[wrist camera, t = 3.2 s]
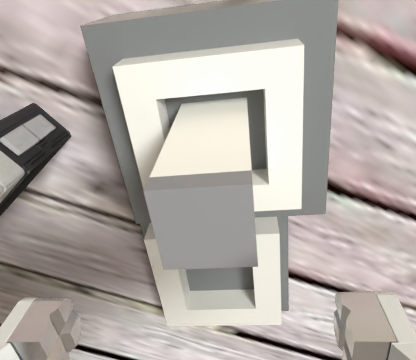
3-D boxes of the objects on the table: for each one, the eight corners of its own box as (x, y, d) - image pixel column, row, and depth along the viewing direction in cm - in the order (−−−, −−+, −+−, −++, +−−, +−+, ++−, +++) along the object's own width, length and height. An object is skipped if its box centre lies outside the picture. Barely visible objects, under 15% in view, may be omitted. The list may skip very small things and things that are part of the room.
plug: (181, 103, 21) (143, 190, 13) (246, 97, 21) (252, 183, 12) (191, 161, 23) (163, 270, 15) (250, 156, 23) (258, 266, 14)
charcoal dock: (113, 15, 25) (64, 31, 18) (316, -12, 23) (349, -6, 16) (152, 183, 32) (129, 241, 25) (310, 172, 30) (331, 231, 23)
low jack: (139, 211, 33) (130, 231, 31) (286, 202, 32) (291, 223, 29) (165, 308, 40) (160, 332, 38) (287, 306, 39) (291, 330, 36)
